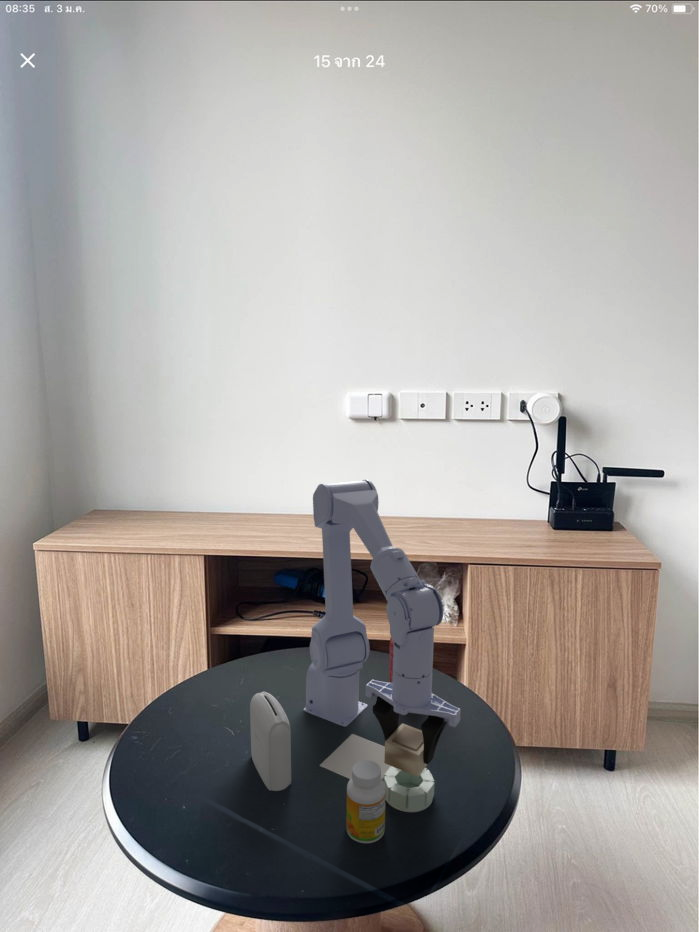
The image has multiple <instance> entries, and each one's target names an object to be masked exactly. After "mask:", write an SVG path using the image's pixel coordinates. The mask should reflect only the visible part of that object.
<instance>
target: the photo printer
mask: <svg viewBox="0 0 699 932" xmlns="http://www.w3.org/2000/svg"><path fill="white" fill-rule="evenodd" d="M286 713H287V712H286V711H285V710H284V708H283V706H282V704H281V703H280V702H279V701H278V700H277V698H276V697H275V696H273V695H272V694H271V693H269V692H266V691H261V692H257V693H255V694H254V695H253V696H252V698H251V700H250V703H249V720H250V722H249V723H250V725H249V726H250V753H251V754H250V755H251V758H252V762H253V764H254V767H255V769H256V771H257V773H258V775H259V776H260V778H261V781H262V782H263V783H264V785H265V787H266V788H267V790H269V791H273V792H279V791H283V790H285V789H287V788H288V787H289V785H291V784H292V753H291V751H292V750H291V746H292V745H291V744H292V743H291V739H292V738H291V734H292V733H291V724H290V721H289V719H288V716H287V714H286Z"/></svg>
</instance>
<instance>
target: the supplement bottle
mask: <svg viewBox="0 0 699 932" xmlns="http://www.w3.org/2000/svg"><path fill="white" fill-rule="evenodd" d="M348 780H349V781H348V782H347V785H346V816H345V817H346V819H345V820H346V825H345V826H346V827H345V828H346V832H347V835H348V836H349V838H351V839H352V840H353V841H356V842H357V843H361V844H372V843H375V842H377V841H379V840H380V839H381V838H383V836H384V834H385V829H386V799H385V795H386V792H385V784H384V779H381V768H380V766H379V765H378V764H377V763H375V762H373V761H370V760H363V761H359V762H357V763H356V764H354V766H353V768H352V778H351V779H348Z"/></svg>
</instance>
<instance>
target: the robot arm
mask: <svg viewBox="0 0 699 932" xmlns="http://www.w3.org/2000/svg"><path fill="white" fill-rule="evenodd" d="M312 508H313V509H312V511H313V513H312V514H313V523H314V527H315V528H318V529H321V537H322V539H321V540H322V558H323V559H322V561H323V580H324V581H323V582H324V583H323V584H324V600H325V601H324V602H325V603H324V604H325V615H324V616H323V617H322V618H321V619H320V620H318V621H317V622H316V623H315V624H314V625H313V626H312V627H311V634H310V635H311V639H310V643H309V655H310V660H311V664H310V665H309V667H308V669H307V672H306V677H305V707H304V708H303V711H304V712H306V713H308V714H311V715H313V716H316V717H318V718H322V719H323V720H326V721H329V722H331V723H334V724H336V725H339V726H341V727H348V726H349V725H350V724H351V723H352V722H353V721H354V720H355V719H357V717H358V716H360V714H362V713H363V712H364V711H365V710H366V709H367V708H368V704H367V703H365V702H362V701H359V698H360V697H359V695H360V692H359V691H360V690H359V689H360V688H359V687H360V686H359V685H360V670H361V669H363V666H364V665H363V663H364V662H367V660H368V658H369V657H370V651H371V649H370V648H371V647H370V641H369V638H368V635H367V627H366V625H365V623H364V622H363V621H362V619H360V618H359V617H357V616H355V615H354V604H353V601H354V600H353V582H352V557H351V553H352V552H351V531H352V530H353V529H354V531H355V533H356V535H358V537H359V539H360V541H361V542H362V543H363V545H364V547H365V548H366V550H367V552H368V553H369V555H370V556H371V558H372V560H371V563H370V565H369V566H370V571H371V572H372V575H373V576H374V578H375V580H376V582H377V583H378V585H379V588H380V590H381V592H382V594H383V595H384V597H385V599H386V601H387V604H386V605H385V609H386V610H385V611H386V615H387V620H388V623H389V635H390V638H391V639H392V640H393V641H394V645H393V683H389V682H386V681H381V680H380V681H379V680H375V679H371V680H370V681H369V682H368V683H366V684H365V697H367V698H370V699H373V698H376V701H375V703H374V704H373V705H372V713H373V715H374V716H375V718H376V719H377V721H378V722H379V725H380V727H381V730H382V733H383V737H384V740H385V741H386V740H387V739H388V738H389V737H390V736H391V735H392V734H393V733H394V732H395V731H396V730H397V728H398V727H399V718H400V717H399V716H400V715H401V716H405V715H407V714H418V715H424V716H428V717H427V718H426V719H425V720H424V721H423V722H422V723H421V725H420V730H422V734H423V741H424V751H423V760H424V763H425V764H428V765H429V764H430V763H431V762H432V761H433V759H434V757H435V752H436V749H437V745H438V743H439V740H440V737H441V735H442V733H443V731H444V730H445V727H446V725H448V726H450V727H452V728H456V727H457V726H458V725H459V723H460V722H461V714H462V713H461V712H462V710H461V708H459V707H457V706H454V705H452V704H451V703H449V702H447V701H446V700H444V699H443V698H441V697H439V696H437V695H436V694H434V693H433V691H432V690H433V688H432V687H433V670H434V669H433V664H434V662H433V661H434V645H435V644H434V642H435V641H434V640H435V639H434V638H435V637H434V636H435V628H434V627H437V626H439V625H441V623H442V621H443V619H444V605H443V604H444V603H443V601H442V599H441V596H440V595H439V592H438V590H437V588H436V587H434V585H431V584H428V583H427V580H424V579H423V580H421V578H420V577H419V575H418V573H417V572H416V570H415V567H413V565H412V562H411V561H410V560H409V557H408V556H407V555H406V553H405V551H404V550H403V549H402V548H399V547H394V546H393V543H392V542H391V540H390V539H391V538H390V537H389V535H388V532H387V531H386V528H385V525H384V523H383V522H382V519H381V516H380V515H379V493H378V491H377V488H376V486H375V485H374V483H373V482H372V481H371V480H370V479H363V480H356V481H347V482H346V481H345V482H344V481H343V482H336V483H333V482H332V483H319V484H318V485H317V487H316V488H315V491H314V492H313V494H312ZM385 741H384V742H385Z"/></svg>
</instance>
